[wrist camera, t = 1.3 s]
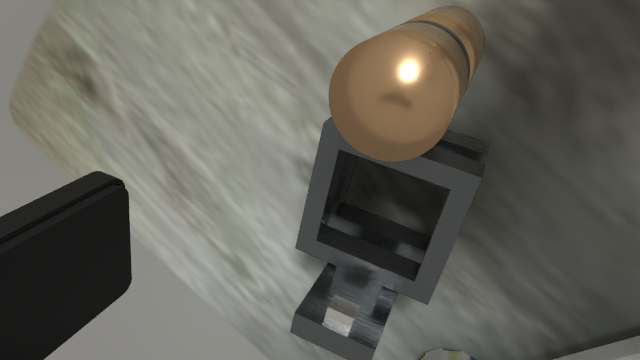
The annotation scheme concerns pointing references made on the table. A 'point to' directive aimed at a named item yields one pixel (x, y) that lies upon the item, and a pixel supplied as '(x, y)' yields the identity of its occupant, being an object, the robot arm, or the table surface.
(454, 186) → the collar bracket
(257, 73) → the table surface
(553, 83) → the table surface
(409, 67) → the copper tube
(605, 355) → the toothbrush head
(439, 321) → the table surface
